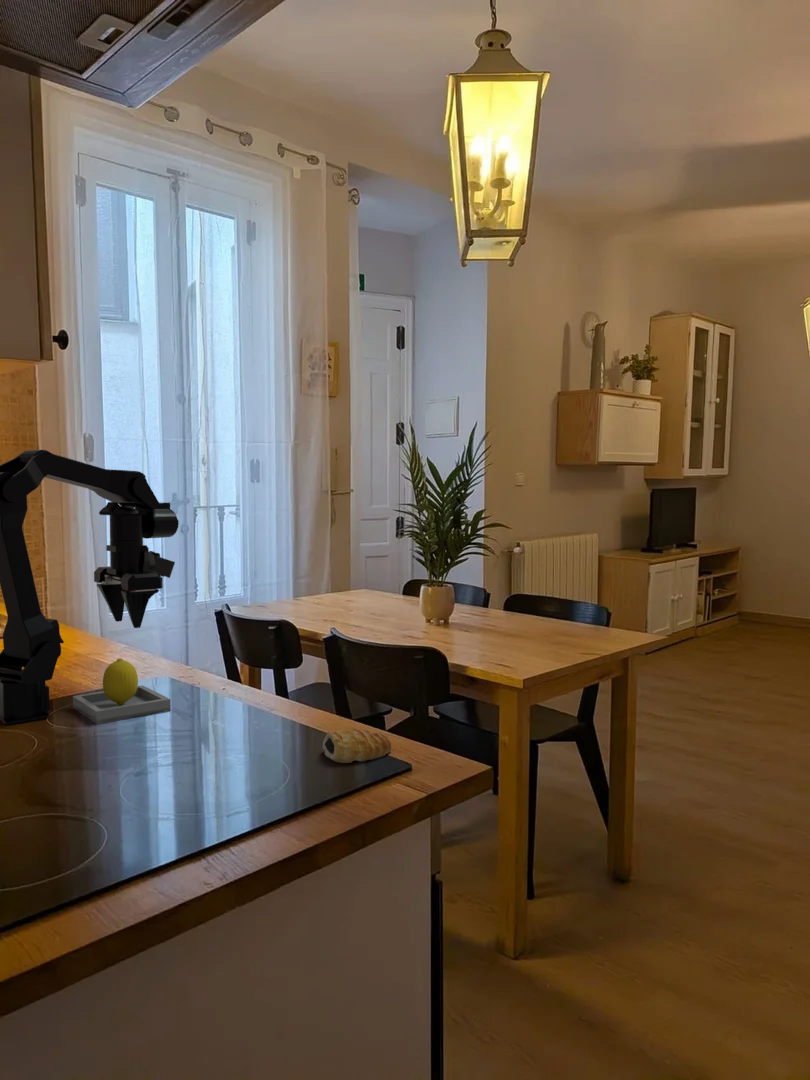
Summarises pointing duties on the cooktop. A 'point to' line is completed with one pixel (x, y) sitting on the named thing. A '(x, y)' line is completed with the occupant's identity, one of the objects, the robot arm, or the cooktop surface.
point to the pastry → (355, 745)
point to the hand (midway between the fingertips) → (127, 624)
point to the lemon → (120, 681)
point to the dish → (108, 711)
